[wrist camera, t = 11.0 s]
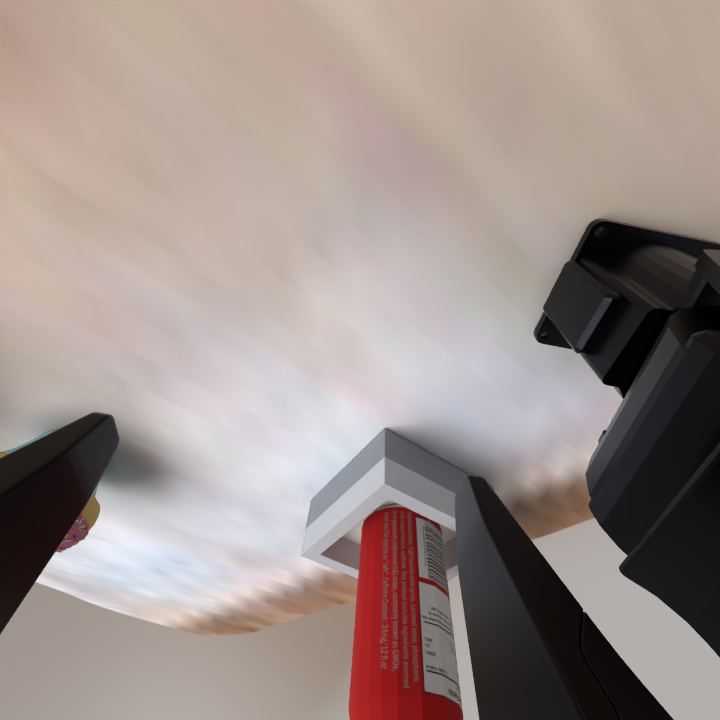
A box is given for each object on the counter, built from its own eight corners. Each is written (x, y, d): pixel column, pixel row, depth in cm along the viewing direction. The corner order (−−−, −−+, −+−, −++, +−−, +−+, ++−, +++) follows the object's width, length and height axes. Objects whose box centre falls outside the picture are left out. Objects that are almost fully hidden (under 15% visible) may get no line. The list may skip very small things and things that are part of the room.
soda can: (349, 530, 28) (326, 766, 18) (385, 490, 25) (380, 745, 15) (414, 553, 29) (426, 788, 19) (456, 517, 26) (495, 772, 16)
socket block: (384, 428, 25) (384, 483, 22) (493, 487, 28) (509, 545, 24) (311, 500, 30) (300, 555, 26) (409, 544, 33) (412, 600, 29)
